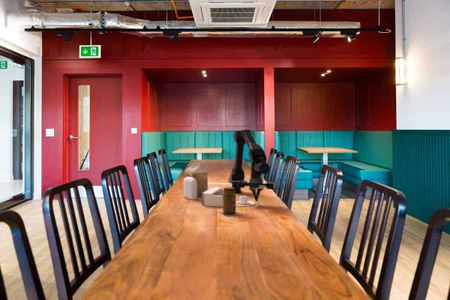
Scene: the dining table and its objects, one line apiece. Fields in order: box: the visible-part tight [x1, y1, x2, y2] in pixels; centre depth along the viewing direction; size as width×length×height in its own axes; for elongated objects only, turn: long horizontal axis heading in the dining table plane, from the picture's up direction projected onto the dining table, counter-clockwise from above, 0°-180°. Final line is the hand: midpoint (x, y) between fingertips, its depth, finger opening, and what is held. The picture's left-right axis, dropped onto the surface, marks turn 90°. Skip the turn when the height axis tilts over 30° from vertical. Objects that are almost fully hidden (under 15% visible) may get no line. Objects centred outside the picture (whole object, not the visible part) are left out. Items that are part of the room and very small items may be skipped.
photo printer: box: [182, 177, 198, 201], centre depth 169 cm, size 10×4×12 cm, turn 39°
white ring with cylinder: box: [236, 195, 256, 207], centre depth 154 cm, size 12×12×4 cm
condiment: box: [219, 186, 241, 217], centre depth 137 cm, size 7×8×12 cm
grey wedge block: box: [201, 186, 224, 208], centre depth 159 cm, size 17×11×6 cm, turn 163°
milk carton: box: [183, 162, 209, 197], centre depth 179 cm, size 11×11×19 cm
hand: (256, 201), depth 152 cm, fingers closed
